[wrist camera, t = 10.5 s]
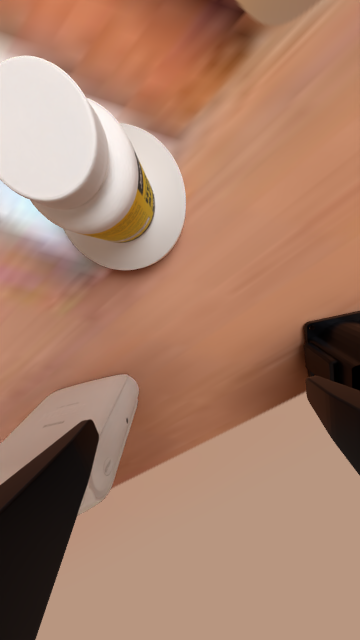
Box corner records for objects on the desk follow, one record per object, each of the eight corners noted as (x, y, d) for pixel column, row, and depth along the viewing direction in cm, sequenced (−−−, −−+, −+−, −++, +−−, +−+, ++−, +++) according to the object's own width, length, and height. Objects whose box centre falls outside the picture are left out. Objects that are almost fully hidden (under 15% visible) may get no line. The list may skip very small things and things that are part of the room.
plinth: (169, 125, 17) (167, 103, 14) (196, 254, 20) (198, 253, 17) (53, 161, 18) (32, 146, 15) (94, 279, 20) (82, 282, 18)
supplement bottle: (170, 217, 16) (150, 162, 7) (115, 257, 17) (32, 256, 8) (128, 147, 15) (35, -31, 6) (71, 194, 16) (-87, 106, 7)
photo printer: (133, 367, 23) (76, 484, 11) (145, 400, 24) (106, 538, 12) (47, 388, 24) (-88, 516, 12) (63, 419, 25) (-47, 563, 13)
